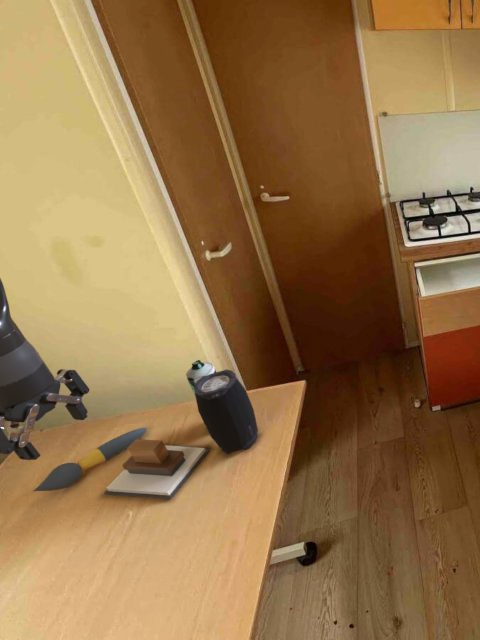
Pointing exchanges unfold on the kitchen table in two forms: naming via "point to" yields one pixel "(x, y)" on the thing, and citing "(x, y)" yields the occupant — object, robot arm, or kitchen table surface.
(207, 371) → the spray can
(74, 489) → the kitchen table surface
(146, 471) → the two-tone stacked block
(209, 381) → the portable speaker
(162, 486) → the tile
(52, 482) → the paintbrush
